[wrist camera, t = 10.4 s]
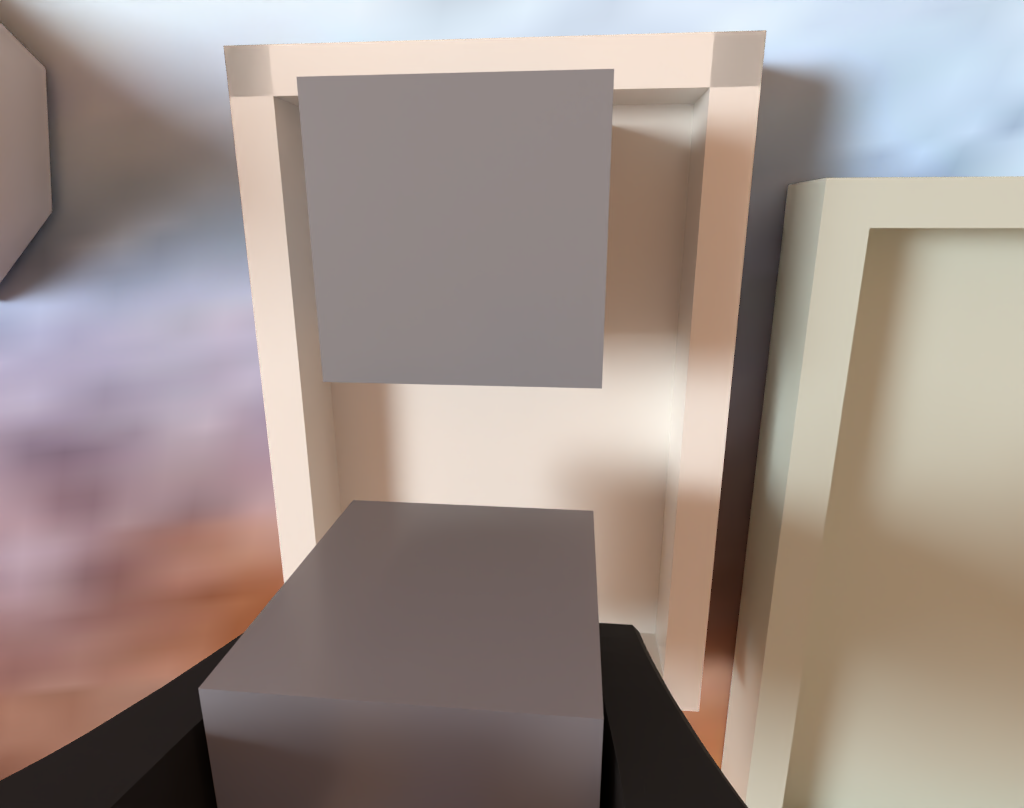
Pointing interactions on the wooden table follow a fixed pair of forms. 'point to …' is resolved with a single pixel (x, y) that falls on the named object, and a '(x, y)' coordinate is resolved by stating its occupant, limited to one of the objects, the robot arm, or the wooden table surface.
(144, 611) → the wooden table surface
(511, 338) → the grey cube
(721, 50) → the dish
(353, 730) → the grey cube
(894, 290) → the bin
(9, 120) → the flask
